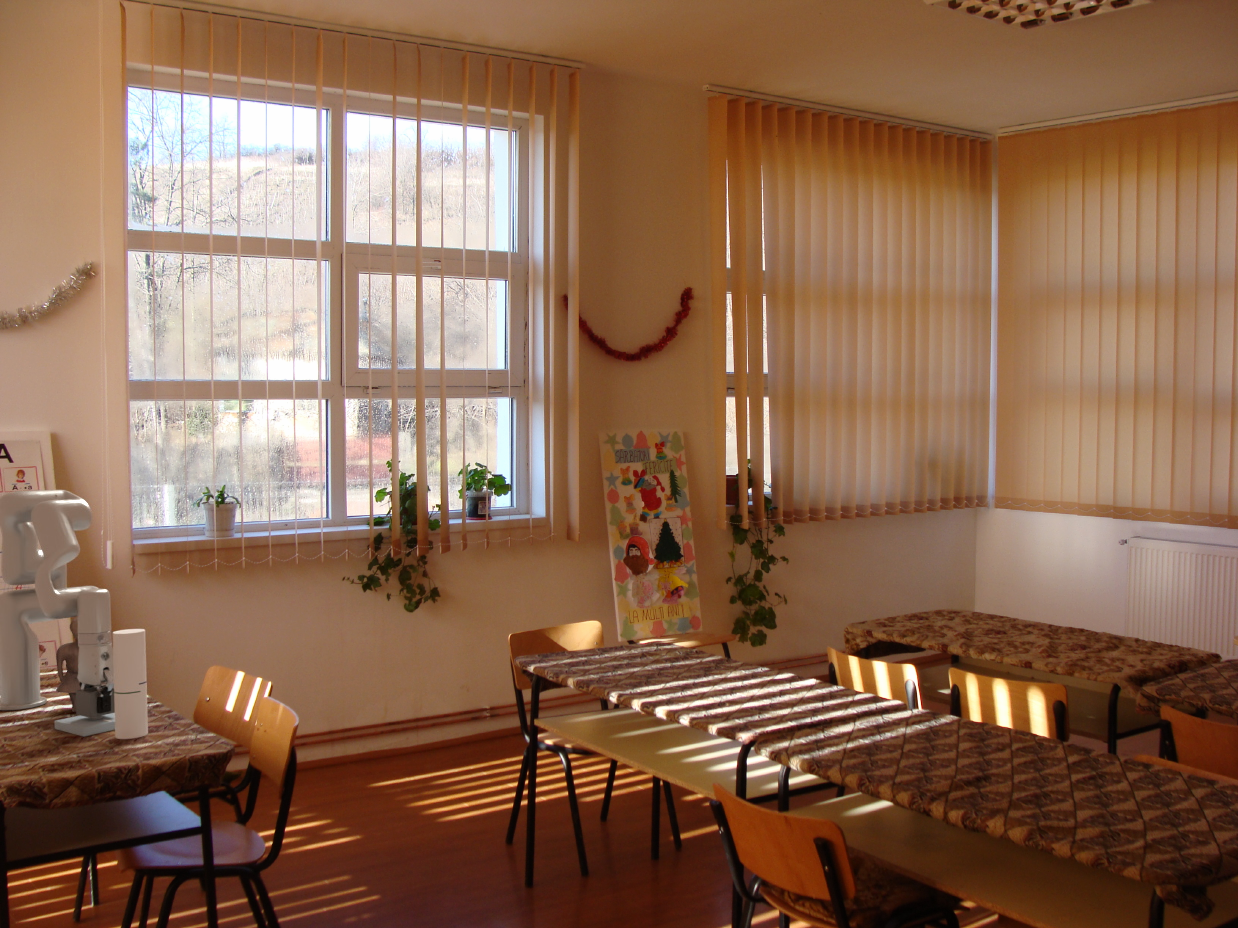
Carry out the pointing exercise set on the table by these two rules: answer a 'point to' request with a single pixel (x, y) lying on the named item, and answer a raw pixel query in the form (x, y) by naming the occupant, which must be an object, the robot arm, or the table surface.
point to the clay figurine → (69, 666)
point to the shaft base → (86, 724)
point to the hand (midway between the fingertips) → (96, 709)
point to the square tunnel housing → (90, 702)
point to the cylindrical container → (130, 683)
